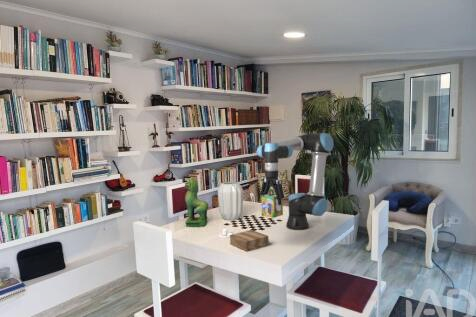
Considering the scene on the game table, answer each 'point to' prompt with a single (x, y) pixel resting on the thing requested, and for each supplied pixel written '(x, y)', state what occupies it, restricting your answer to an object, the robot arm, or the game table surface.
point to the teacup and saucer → (225, 233)
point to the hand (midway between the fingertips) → (272, 208)
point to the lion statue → (195, 205)
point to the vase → (230, 200)
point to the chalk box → (270, 205)
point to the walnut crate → (249, 240)
